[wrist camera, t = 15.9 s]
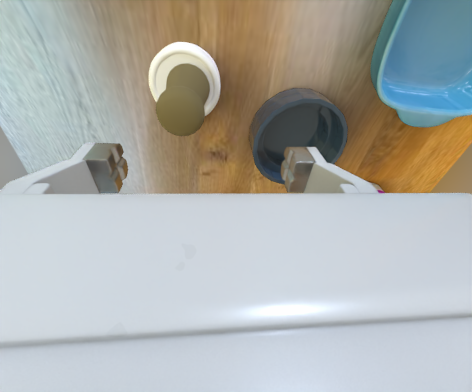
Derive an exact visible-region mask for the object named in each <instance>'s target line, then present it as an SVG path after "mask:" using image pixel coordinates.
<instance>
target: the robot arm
mask: <svg viewBox="0 0 472 392" xmlns="http://www.w3.org/2000/svg"><path fill="white" fill-rule="evenodd" d="M122 154H123V149H122V146H121V145H120V144H115V143H84V144H83V145H82V146H81V147H80V148H79V149H78V150H77V151H76V152H75V154H74V155H73V156H72V157H71V158H70V159H69V160H63V161H61V162H58V163H56V164H53V165H51V166H48V167H46V168H43V169H41V170H38V171H36V172H33V173H31V174H28V175H26V176H23V177H21V178H18V179H16V180H13V181H11V182H8V183H7V184H6V185H5V186H4V187H3V188H2V189H0V392H472V194H468V193H379V192H378V191H377V190H376V188H375V187H374V186H373V185H372V184H371V183H369V182H367V181H365V180H363V179H361V178H359V177H357V176H355V175H353V174H351V173H349V172H347V171H345V170H343V169H341V168H339V167H337V166H335V165H333V164H331V163H327V162H326V161H325V159H324V158H323V156H322V155H321V154H320V152H319V151H318V149H317V148H316V147H286V149H285V151H284V156H285V160H284V161H283V162H282V165H281V177H282V179H283V180H285V187H286V189H287V192H290V193H264V194H100V193H119V191H120V189H121V187H122V185H123V183H122V180H124V179H125V178H126V176H127V173H128V166H127V162H126V160H125V159H124V158H123V157H122Z"/></svg>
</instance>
